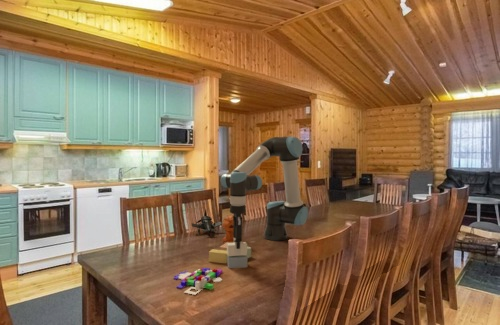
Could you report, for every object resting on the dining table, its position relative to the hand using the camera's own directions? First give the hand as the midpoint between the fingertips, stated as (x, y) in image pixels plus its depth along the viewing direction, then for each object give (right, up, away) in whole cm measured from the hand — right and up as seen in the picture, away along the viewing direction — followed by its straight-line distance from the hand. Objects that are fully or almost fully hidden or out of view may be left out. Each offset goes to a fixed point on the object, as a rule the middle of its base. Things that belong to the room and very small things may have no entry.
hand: (236, 253), depth 149 cm
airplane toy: (-22, -4, +58) cm, 62 cm away
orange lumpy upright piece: (-5, -5, +33) cm, 34 cm away
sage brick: (+2, -6, +12) cm, 13 cm away
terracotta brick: (-6, -6, +17) cm, 19 cm away
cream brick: (0, -1, 0) cm, 1 cm away
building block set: (-16, -7, -17) cm, 25 cm away
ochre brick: (-9, -6, +7) cm, 13 cm away
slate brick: (0, -6, 0) cm, 6 cm away
